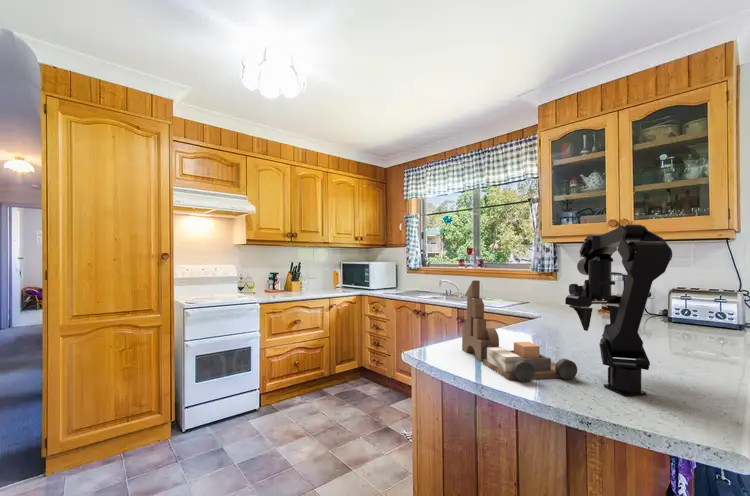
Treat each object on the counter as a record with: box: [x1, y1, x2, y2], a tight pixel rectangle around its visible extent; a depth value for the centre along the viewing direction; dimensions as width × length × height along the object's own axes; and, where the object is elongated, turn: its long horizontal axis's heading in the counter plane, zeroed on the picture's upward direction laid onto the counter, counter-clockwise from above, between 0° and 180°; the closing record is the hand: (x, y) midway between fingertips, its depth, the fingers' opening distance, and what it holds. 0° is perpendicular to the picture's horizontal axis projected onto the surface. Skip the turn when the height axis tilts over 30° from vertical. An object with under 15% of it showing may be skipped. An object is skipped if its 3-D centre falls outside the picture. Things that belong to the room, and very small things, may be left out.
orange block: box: [513, 341, 541, 359], centre depth 102 cm, size 5×5×6 cm
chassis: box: [482, 345, 578, 383], centre depth 102 cm, size 18×20×6 cm
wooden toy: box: [461, 280, 500, 362], centre depth 118 cm, size 16×7×25 cm, turn 11°
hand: (599, 330), depth 102 cm, fingers open, 9 cm apart
